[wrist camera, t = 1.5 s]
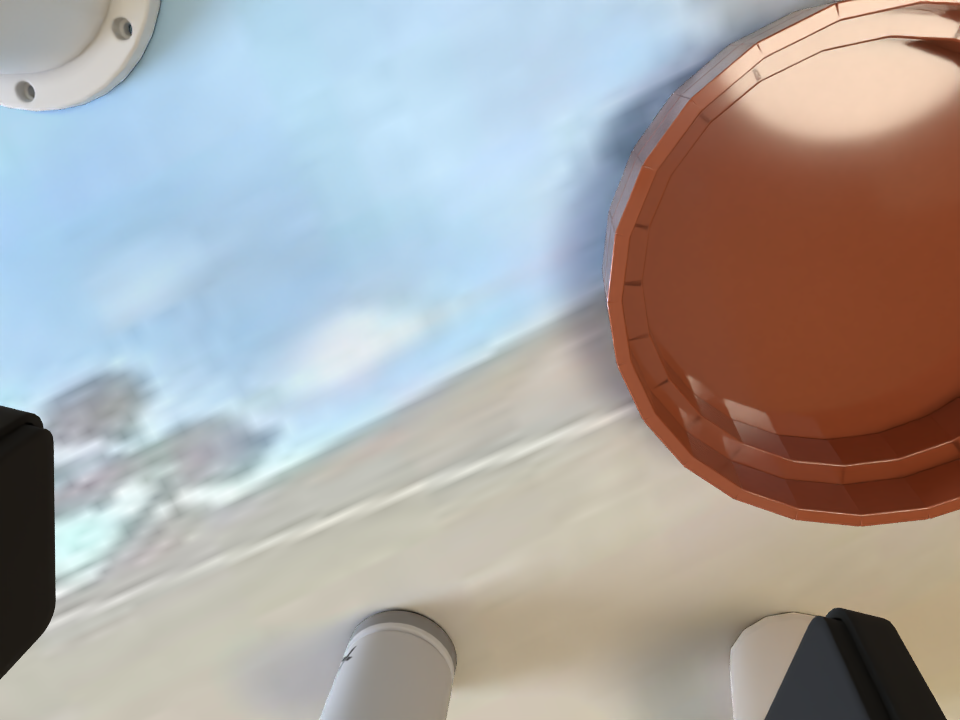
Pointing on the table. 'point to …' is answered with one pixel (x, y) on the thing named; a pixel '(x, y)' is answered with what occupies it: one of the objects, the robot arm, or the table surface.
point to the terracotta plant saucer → (803, 266)
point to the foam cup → (763, 662)
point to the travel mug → (394, 671)
